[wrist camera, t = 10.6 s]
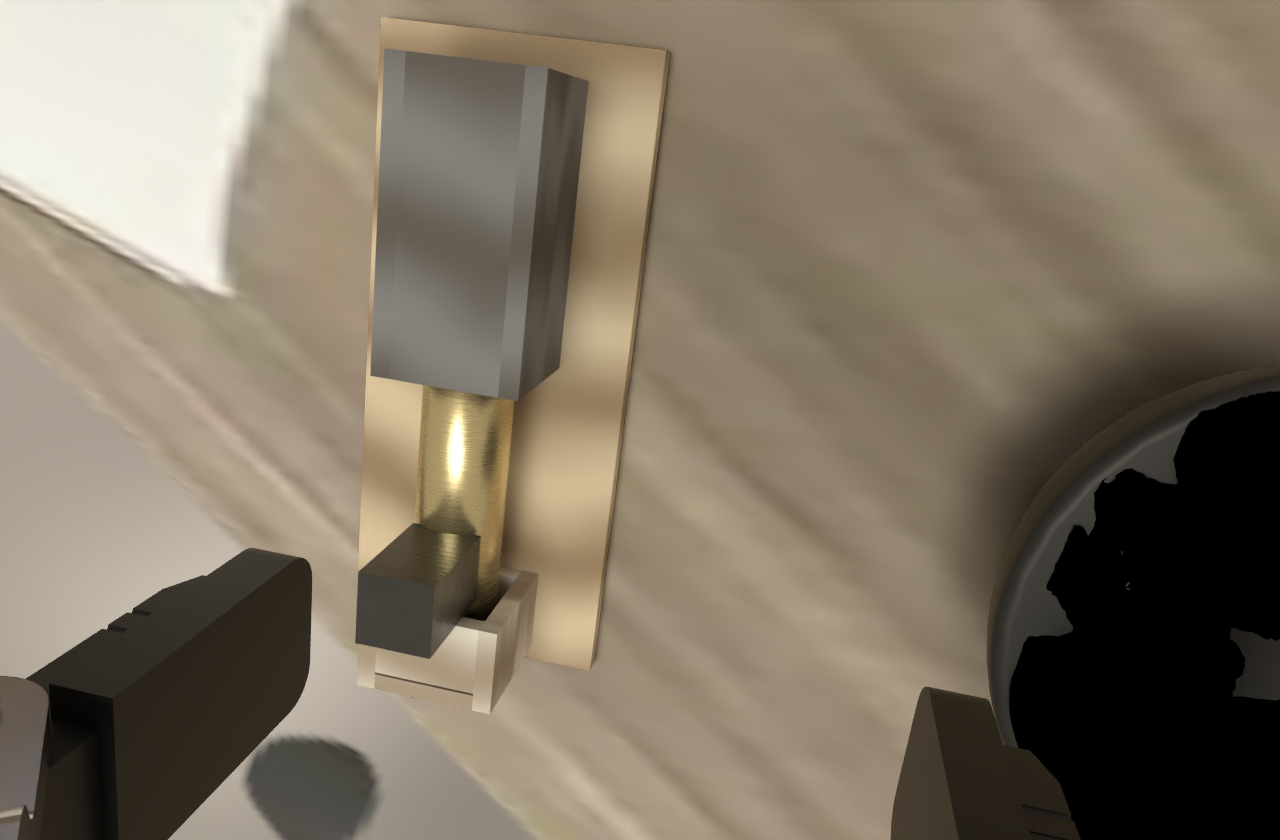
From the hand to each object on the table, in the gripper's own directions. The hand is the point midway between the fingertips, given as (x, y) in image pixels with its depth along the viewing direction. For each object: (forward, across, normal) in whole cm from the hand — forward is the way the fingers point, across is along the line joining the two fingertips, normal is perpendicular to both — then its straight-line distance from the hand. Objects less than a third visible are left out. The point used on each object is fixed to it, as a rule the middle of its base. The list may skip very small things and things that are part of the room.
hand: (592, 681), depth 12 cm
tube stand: (+30, +11, +4) cm, 32 cm away
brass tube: (+28, +11, +8) cm, 31 cm away
